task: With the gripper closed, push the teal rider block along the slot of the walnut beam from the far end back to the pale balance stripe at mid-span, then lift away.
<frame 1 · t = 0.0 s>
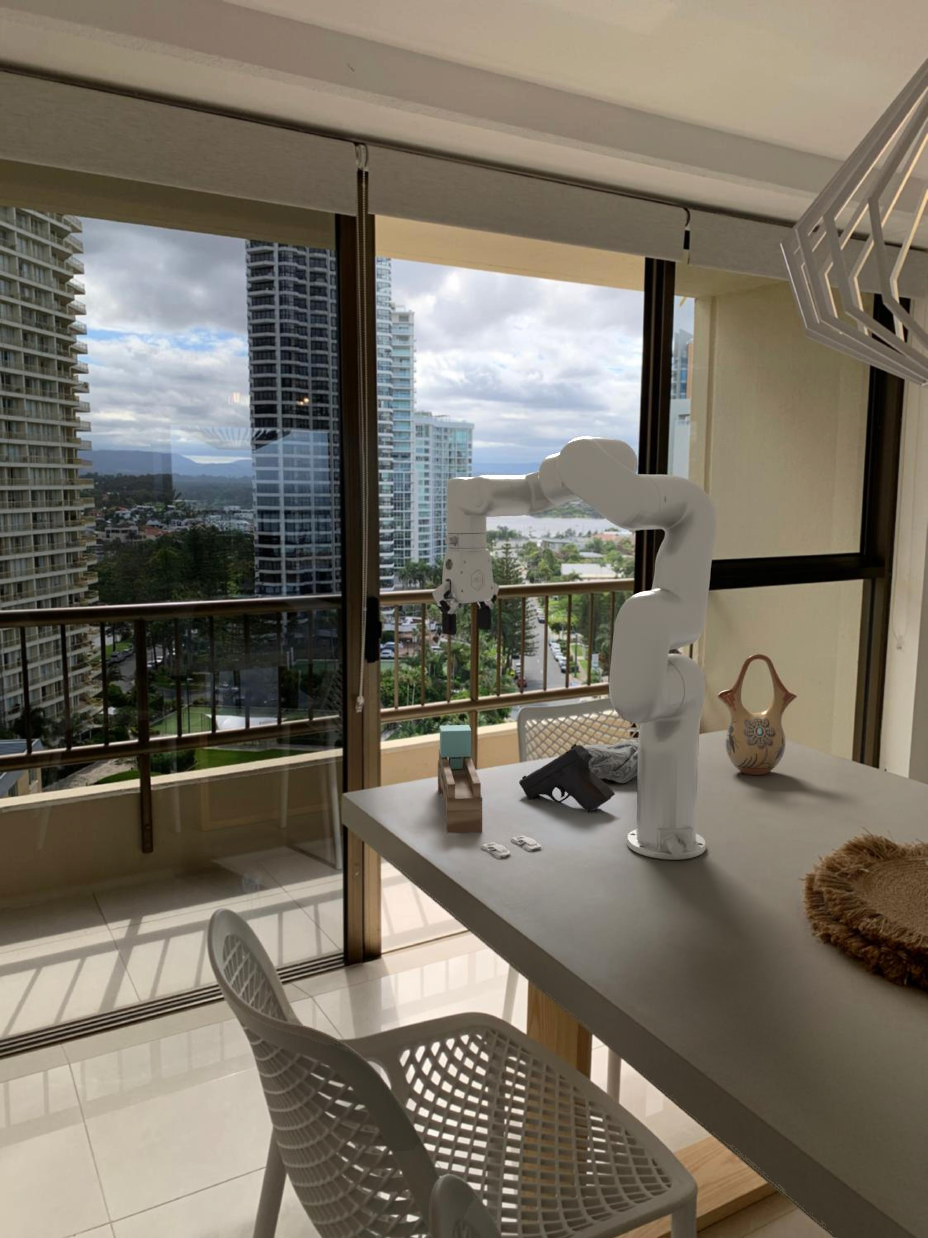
hand: (467, 631, 177), 31 cm above the table, fingers open, 9 cm apart
white curved pieces: (512, 852, 150), on the table
beam: (458, 809, 169), on the table
ceramic vessel: (754, 773, 190), on the table
rider: (455, 747, 173), point 10 cm above the table, slide at 6.0 cm
decorative stone: (611, 777, 189), on the table
handgun: (564, 805, 172), on the table
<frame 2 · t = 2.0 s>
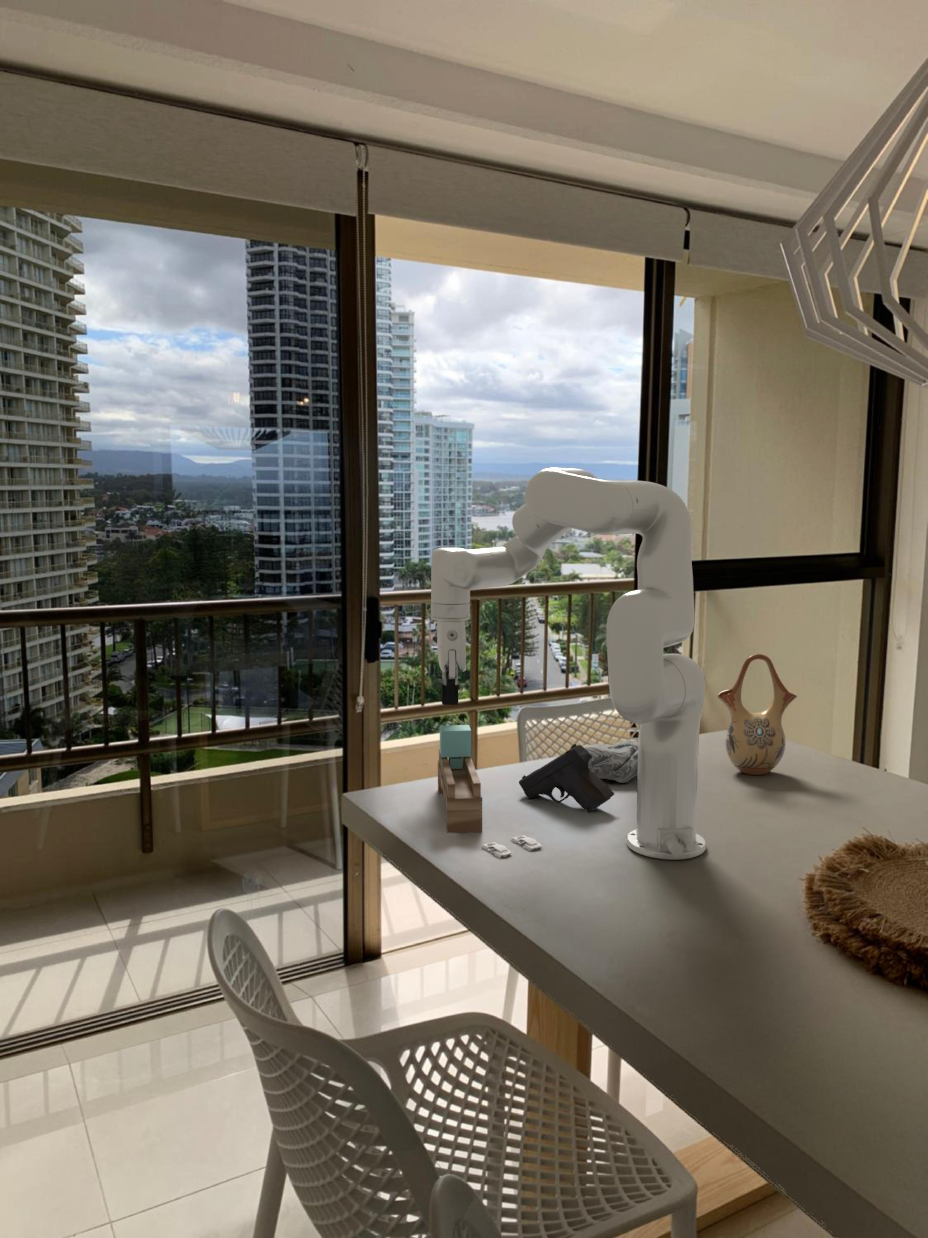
hand: (449, 703, 181), 17 cm above the table, fingers closed
nothing on the table moved.
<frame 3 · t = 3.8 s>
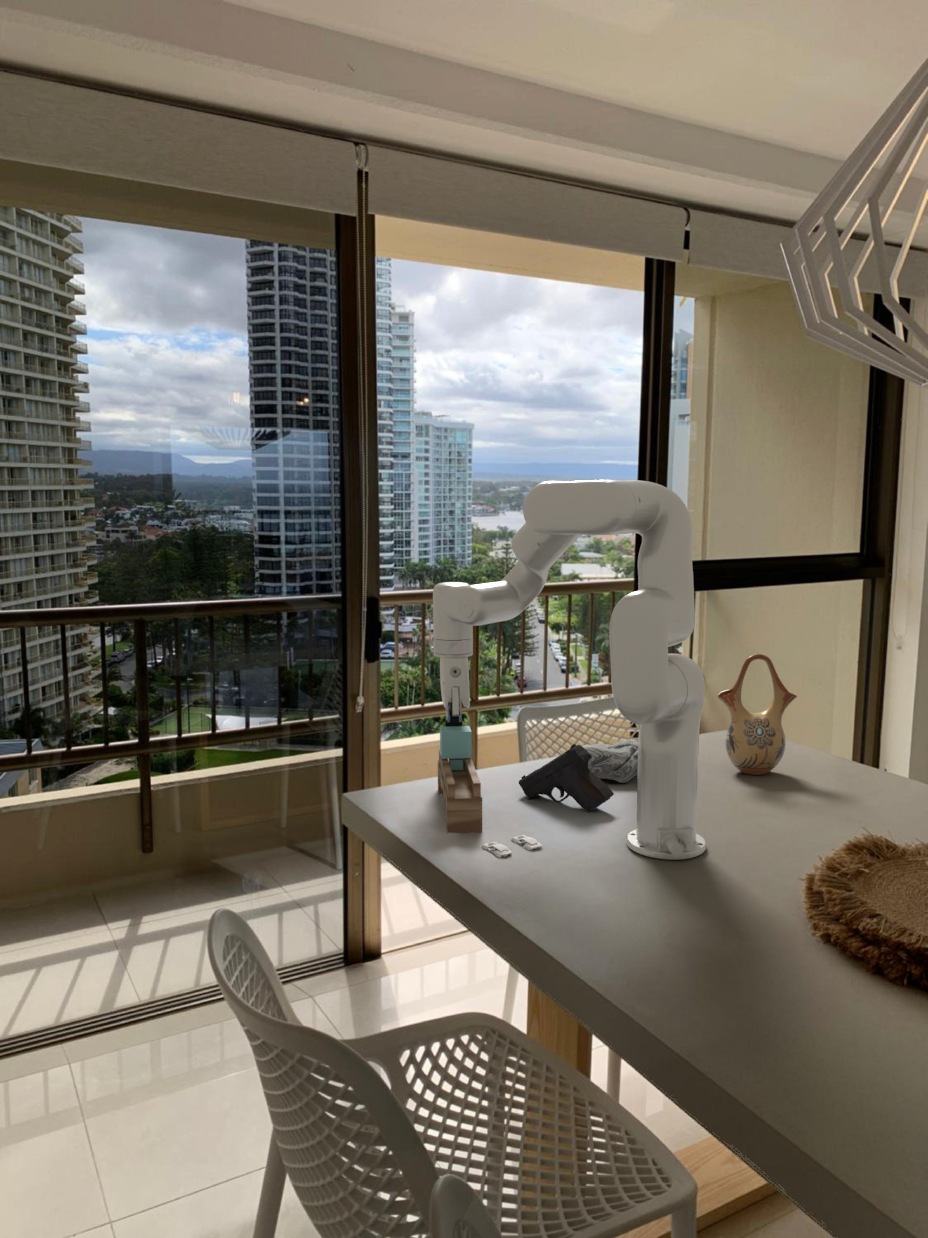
hand: (453, 741, 177), 10 cm above the table, fingers closed
rider: (455, 748, 173), point 10 cm above the table, slide at 5.1 cm, touching gripper
everything else where it was.
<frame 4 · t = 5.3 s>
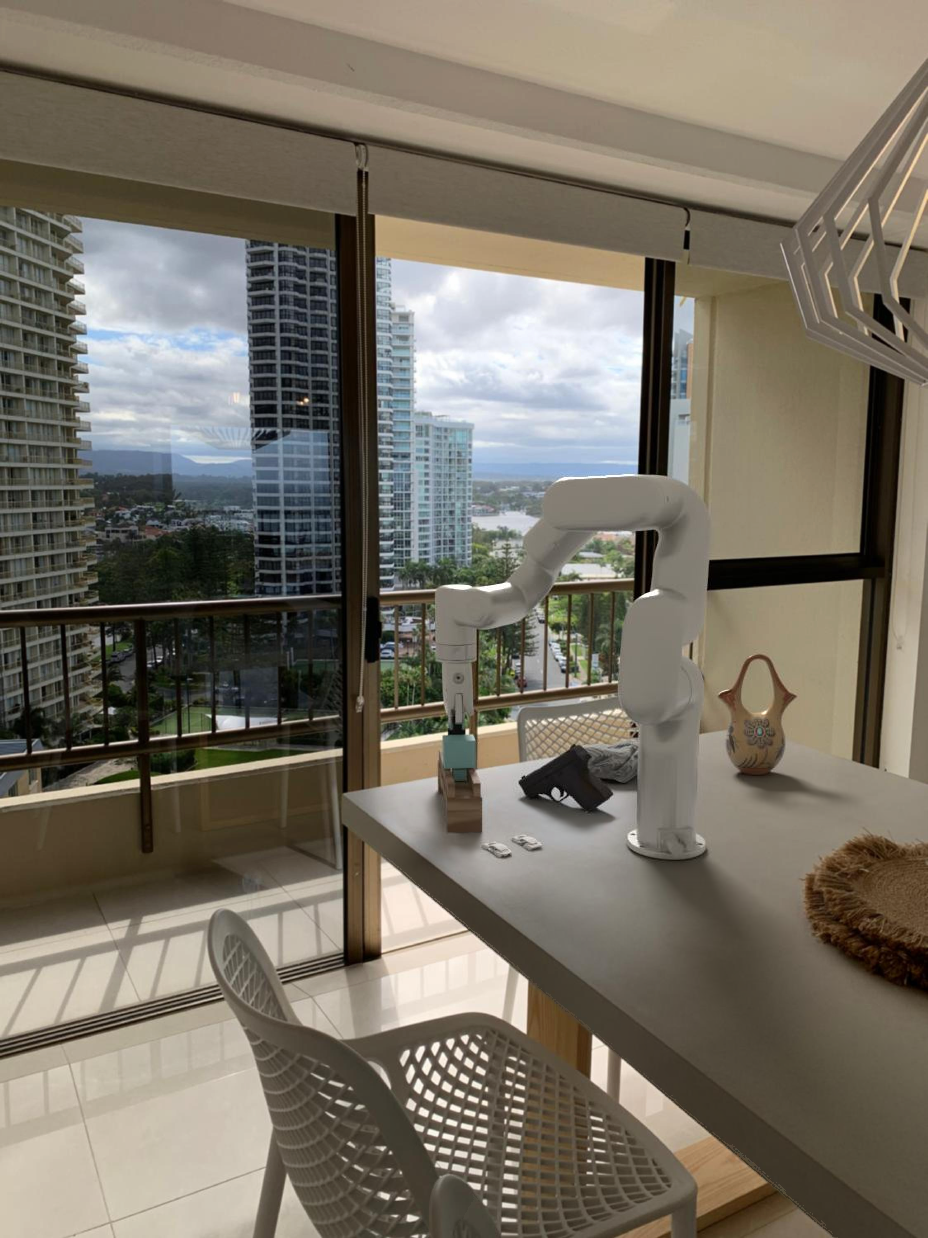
hand: (456, 749, 171), 10 cm above the table, fingers closed
rider: (458, 758, 166), point 10 cm above the table, slide at -1.4 cm, touching gripper
everything else where it was.
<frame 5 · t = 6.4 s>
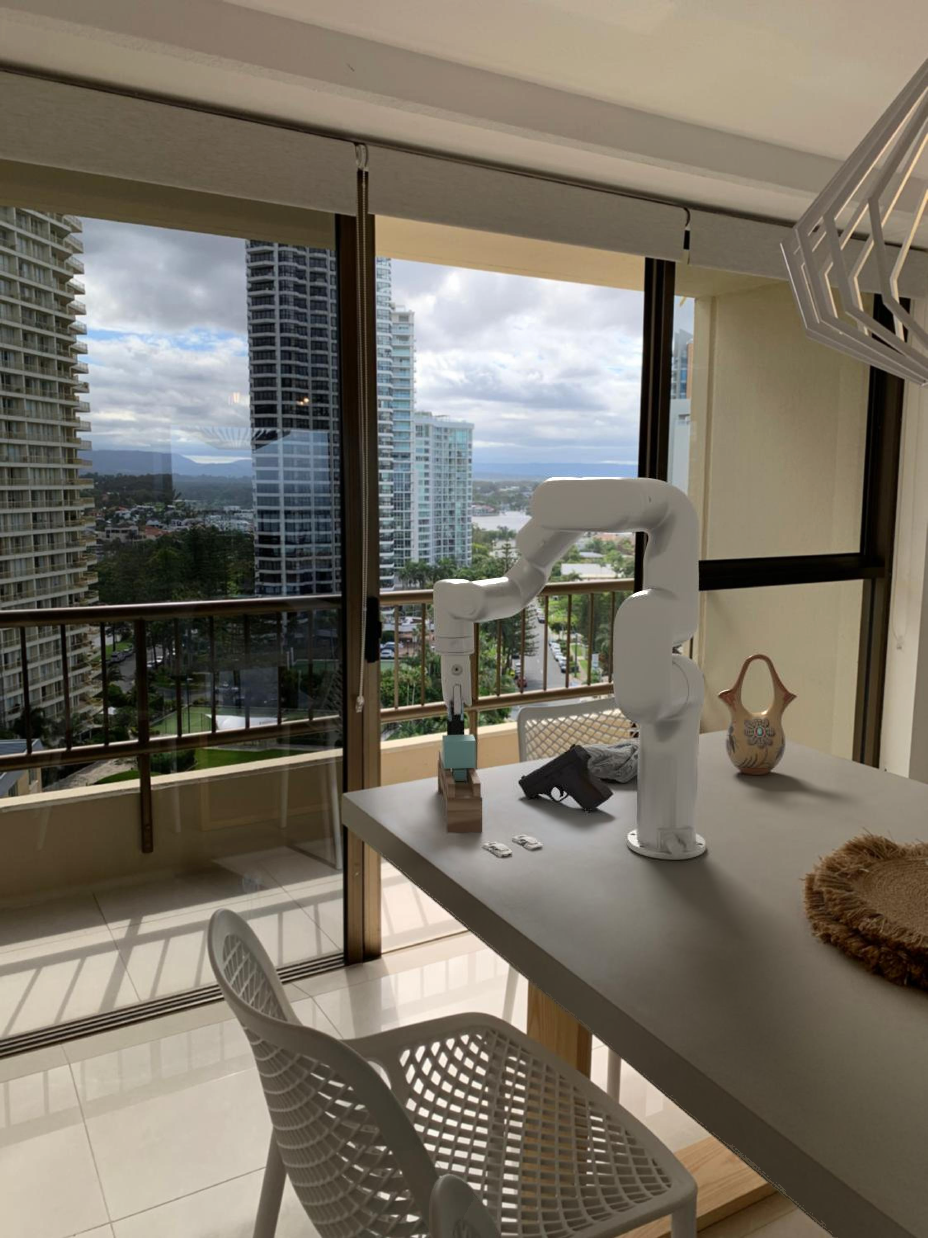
hand: (455, 740, 175), 11 cm above the table, fingers closed
rider: (458, 758, 166), point 10 cm above the table, slide at -1.4 cm
everything else where it was.
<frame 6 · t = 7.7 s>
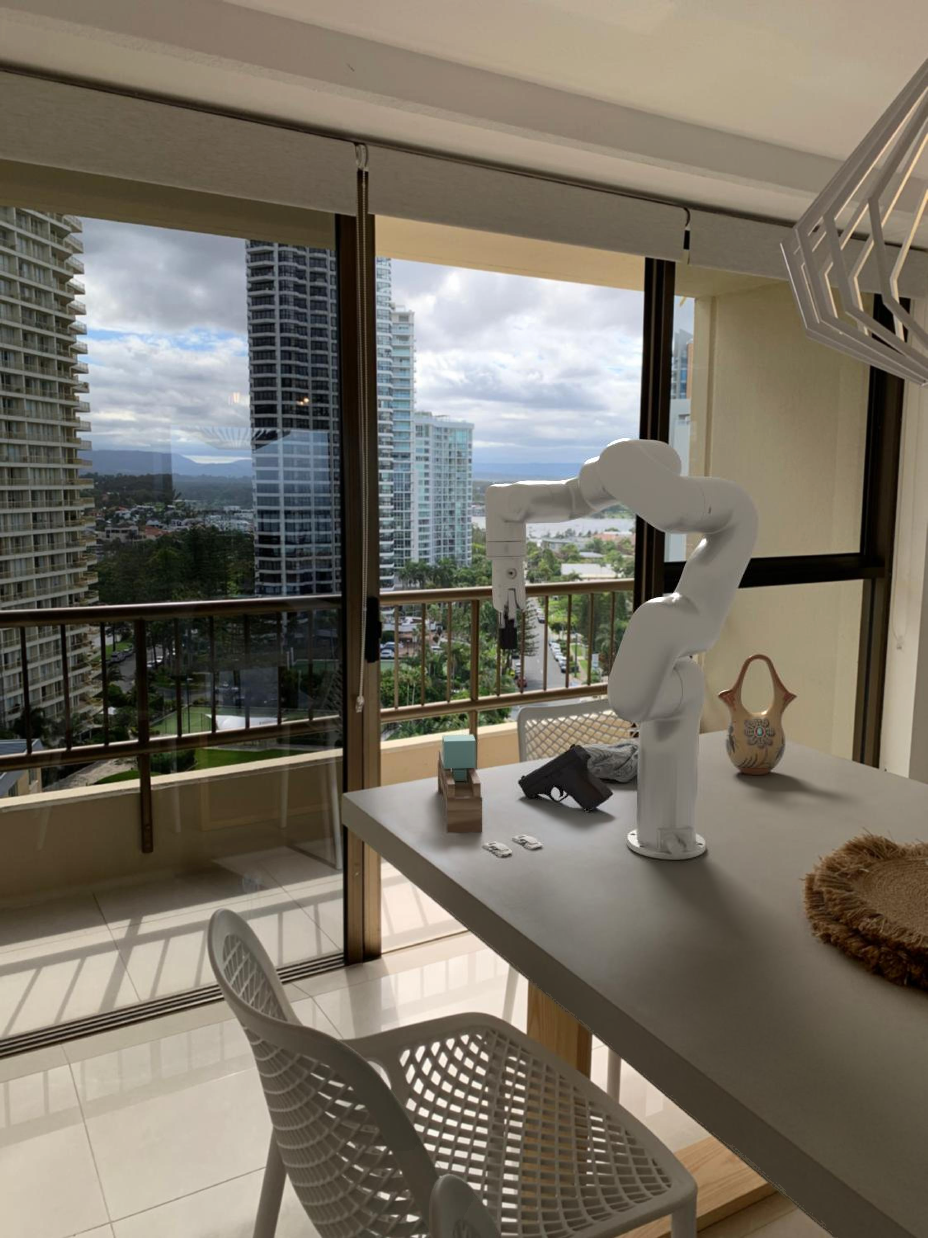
hand: (508, 648, 173), 29 cm above the table, fingers closed
nothing on the table moved.
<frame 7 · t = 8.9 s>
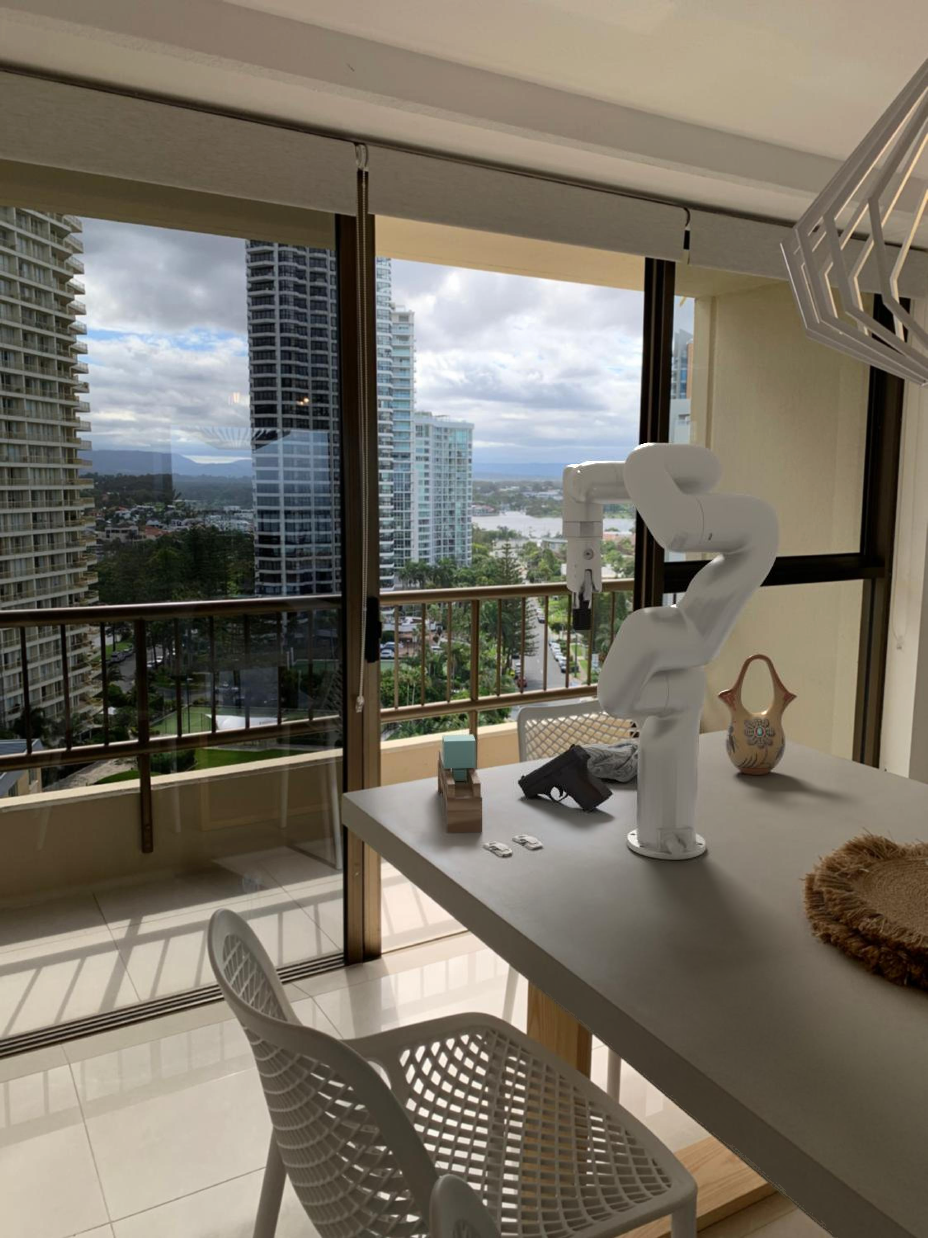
hand: (581, 629, 173), 32 cm above the table, fingers closed
nothing on the table moved.
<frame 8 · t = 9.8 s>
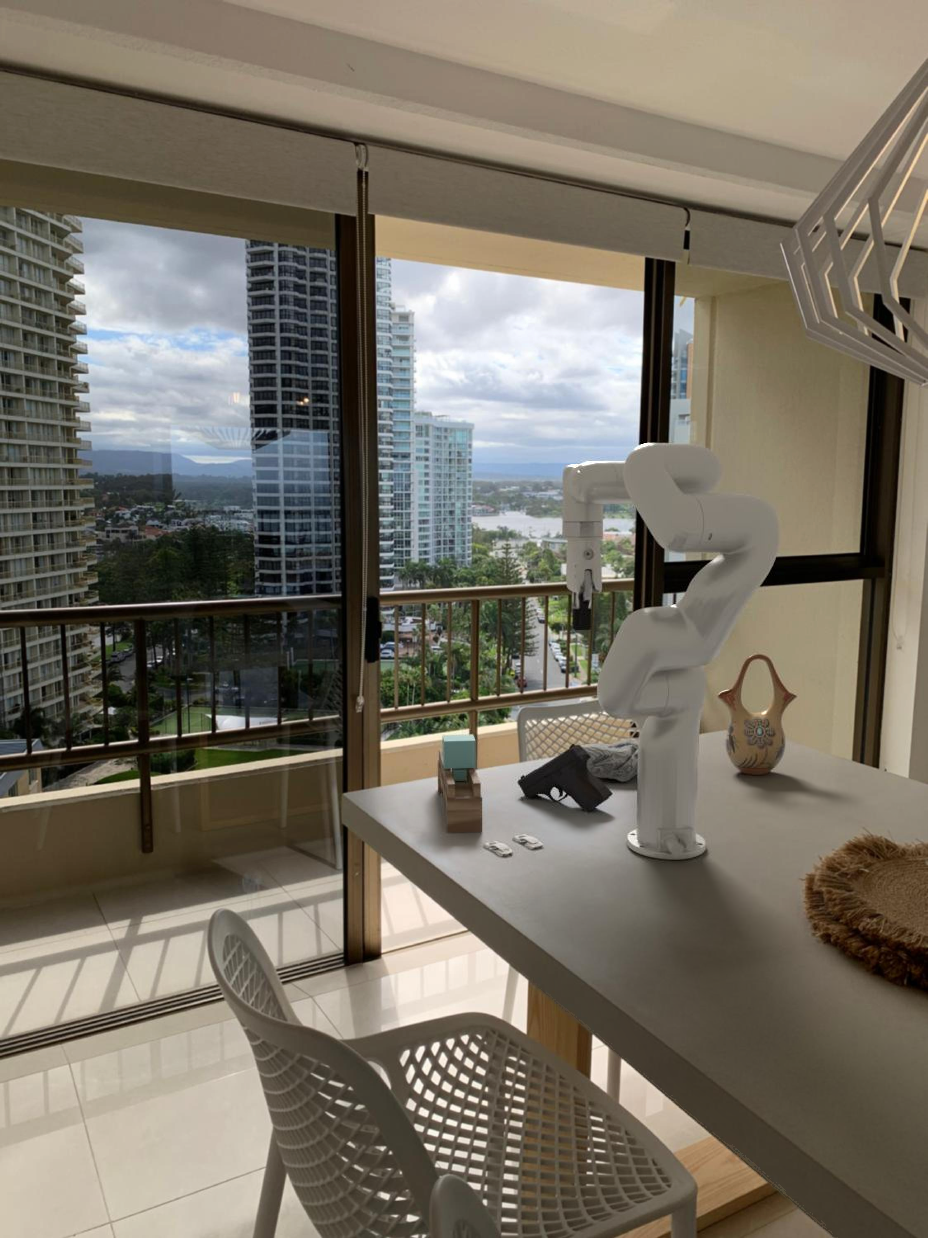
hand: (581, 629, 173), 32 cm above the table, fingers closed
nothing on the table moved.
at the end: rider slide at -1.4 cm; rider touching nothing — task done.
